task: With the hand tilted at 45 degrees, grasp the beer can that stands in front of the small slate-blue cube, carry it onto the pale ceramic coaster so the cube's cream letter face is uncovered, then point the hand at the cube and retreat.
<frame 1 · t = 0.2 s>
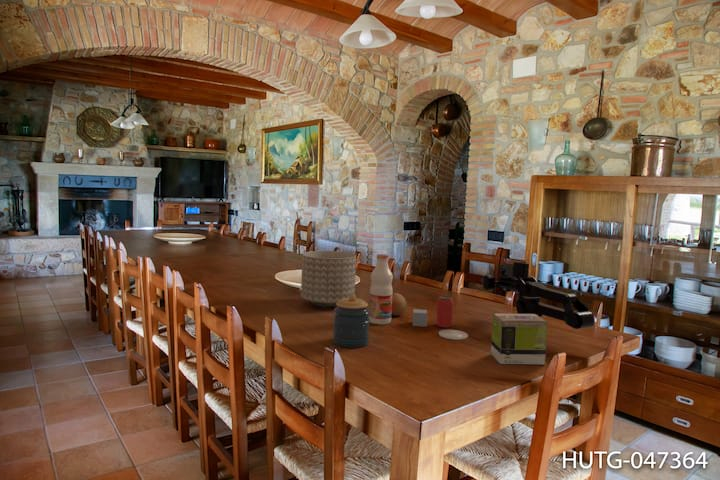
hand: (489, 279, 211), 16 cm above the table, tool horizontal, fingers open, 9 cm apart
beer can: (444, 326, 194), on the table
fruit juice: (379, 322, 196), on the table
coaster: (453, 335, 181), on the table
tea box: (516, 360, 157), on the table
canister: (350, 343, 168), on the table
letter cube: (419, 324, 195), on the table
onion: (395, 316, 207), on the table
planter: (327, 305, 221), on the table
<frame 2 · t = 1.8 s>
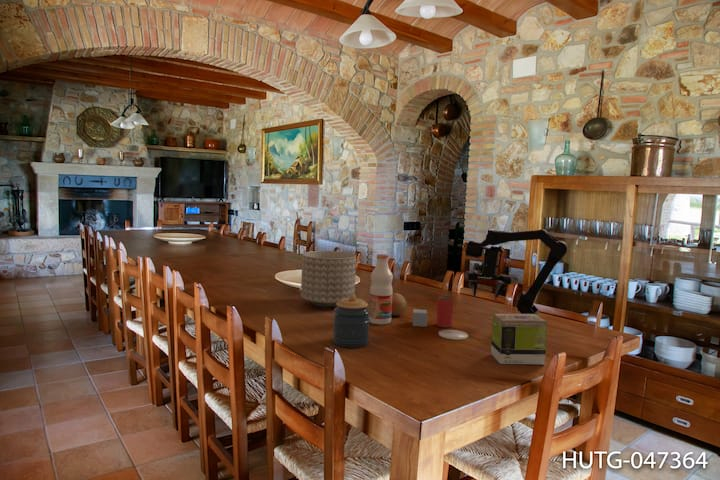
hand: (484, 297, 197), 11 cm above the table, tool pointing down, fingers open, 9 cm apart
nothing on the table moved.
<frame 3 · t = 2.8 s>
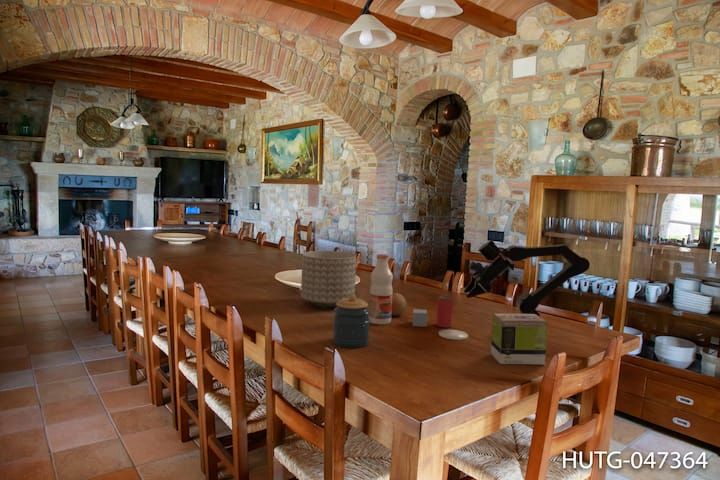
hand: (465, 294, 191), 13 cm above the table, tool tilted 45°, fingers open, 9 cm apart
nothing on the table moved.
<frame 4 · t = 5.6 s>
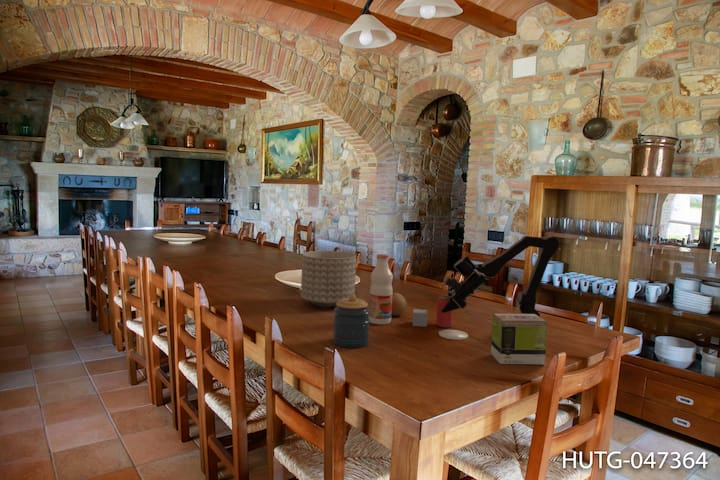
hand: (441, 309, 193), 7 cm above the table, tool tilted 45°, fingers closed on beer can, 7 cm apart
beer can: (444, 326, 194), on the table, touching gripper
everything else where it was.
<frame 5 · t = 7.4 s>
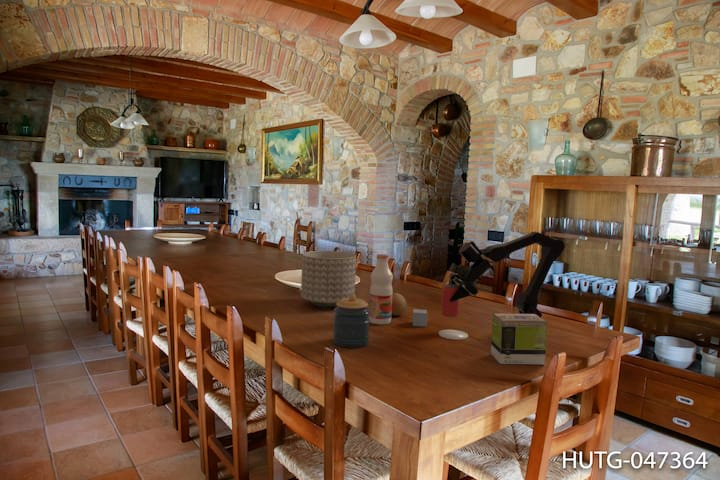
hand: (447, 298, 184), 13 cm above the table, tool tilted 45°, fingers closed on beer can, 7 cm apart
beer can: (449, 316, 185), point 6 cm above the table, touching gripper
everything else where it was.
when the fingers open (8 cm above the table, at t = 9.4 s): beer can stays where it is, resting on coaster.
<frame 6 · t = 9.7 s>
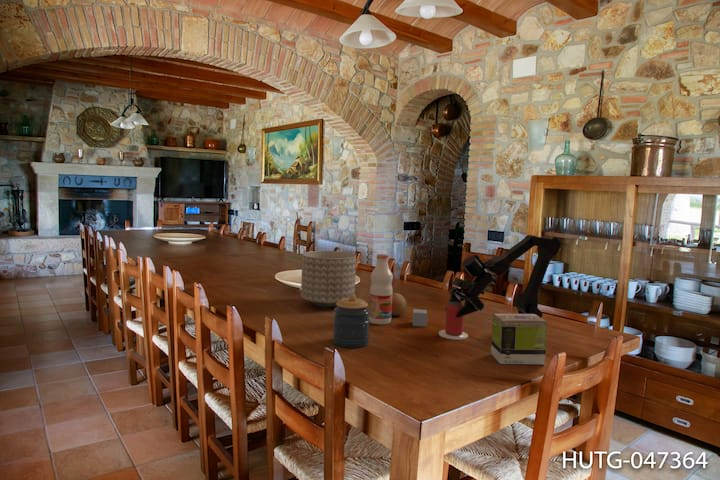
hand: (451, 313, 180), 9 cm above the table, tool tilted 45°, fingers open, 9 cm apart
beer can: (453, 334, 181), resting on coaster
everything else where it was.
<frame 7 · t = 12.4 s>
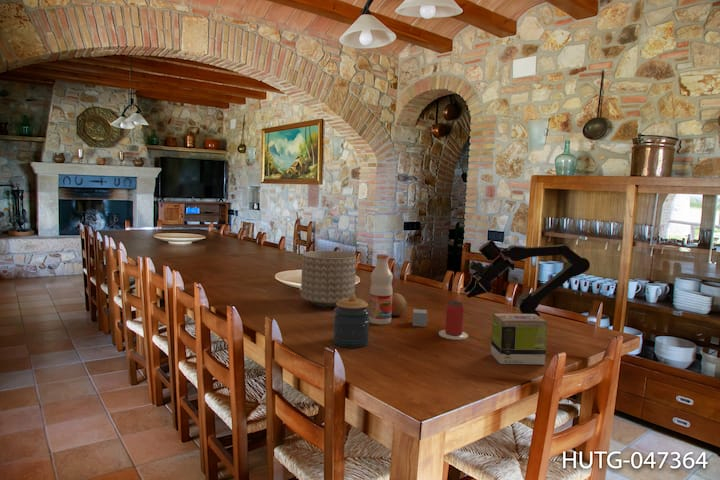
hand: (465, 294, 191), 14 cm above the table, tool tilted 45°, fingers open, 9 cm apart
nothing on the table moved.
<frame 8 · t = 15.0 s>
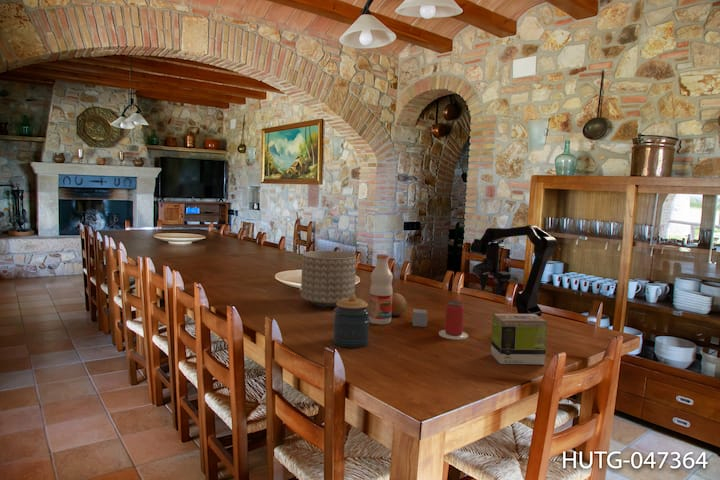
hand: (489, 292, 205), 12 cm above the table, tool pointing down, fingers open, 9 cm apart
nothing on the table moved.
at the end: beer can inside the target area on the coaster (0.2 cm from its centre), point 0.4 cm above the coaster's base; beer can tilted 0°; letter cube moved 0.1 cm from its start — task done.
